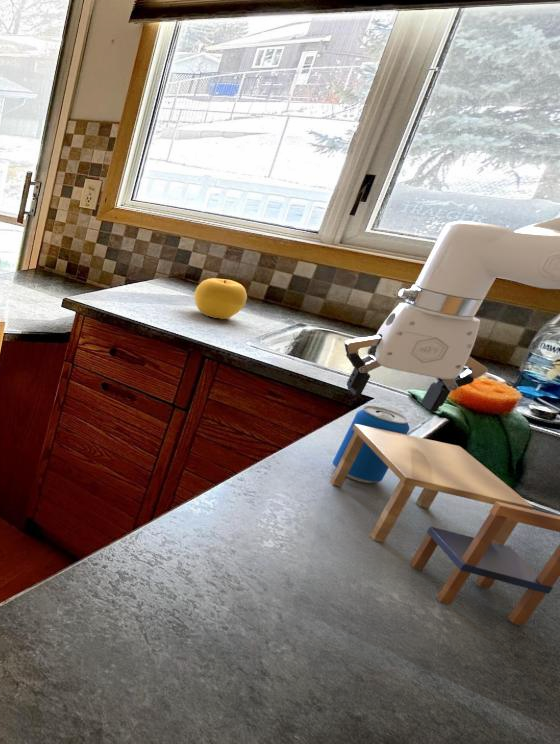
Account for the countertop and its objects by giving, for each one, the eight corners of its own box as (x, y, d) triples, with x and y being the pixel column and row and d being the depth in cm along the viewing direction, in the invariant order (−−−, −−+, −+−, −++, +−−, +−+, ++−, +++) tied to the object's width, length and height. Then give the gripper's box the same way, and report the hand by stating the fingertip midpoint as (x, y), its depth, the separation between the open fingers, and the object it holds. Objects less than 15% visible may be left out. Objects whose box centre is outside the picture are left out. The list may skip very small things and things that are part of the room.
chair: (485, 583, 81) (546, 490, 76) (525, 627, 75) (596, 528, 69) (408, 562, 84) (461, 471, 79) (439, 602, 77) (501, 505, 72)
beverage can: (379, 475, 106) (412, 415, 101) (380, 490, 101) (414, 428, 97) (331, 459, 110) (360, 400, 105) (329, 473, 105) (360, 412, 101)
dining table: (426, 504, 99) (460, 446, 95) (491, 572, 84) (534, 507, 80) (326, 479, 103) (354, 423, 99) (371, 540, 89) (406, 477, 85)
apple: (179, 310, 189) (191, 275, 185) (203, 306, 195) (215, 272, 190) (224, 325, 178) (238, 288, 174) (247, 321, 184) (261, 285, 180)
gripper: (382, 297, 94) (333, 395, 100) (534, 322, 88) (472, 425, 94) (361, 285, 100) (316, 378, 107) (501, 308, 94) (445, 404, 101)
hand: (389, 400), depth 100 cm, fingers open, 9 cm apart
